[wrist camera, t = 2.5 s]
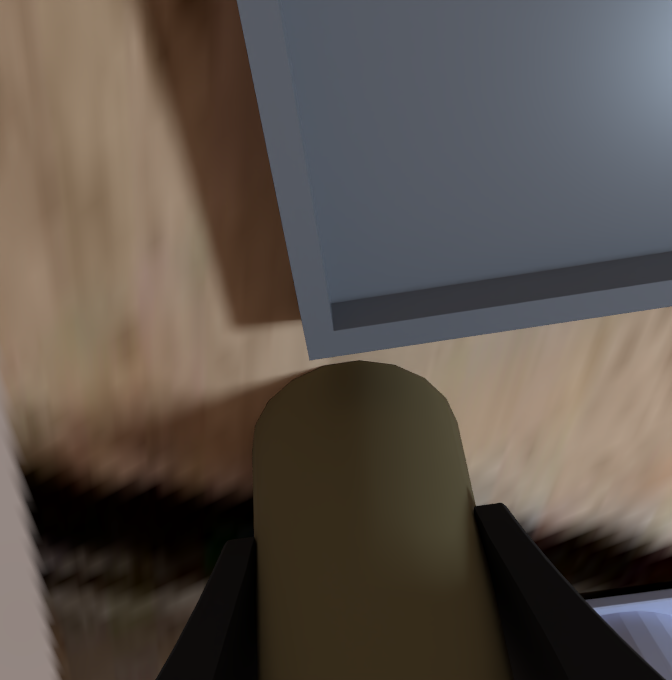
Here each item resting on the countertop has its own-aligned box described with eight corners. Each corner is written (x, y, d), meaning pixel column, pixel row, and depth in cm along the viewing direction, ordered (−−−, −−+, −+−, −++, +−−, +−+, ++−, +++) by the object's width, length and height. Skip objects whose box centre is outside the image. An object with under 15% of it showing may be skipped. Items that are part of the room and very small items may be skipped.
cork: (243, 362, 12) (-27, 1434, 2) (473, 359, 12) (1042, 1316, 3) (259, 524, 15) (161, 1315, 5) (445, 519, 15) (675, 1262, 6)
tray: (768, 249, 11) (852, 279, 10) (310, 319, 12) (309, 360, 10) (1024, -592, 6) (1320, -875, 4) (168, -418, 6) (112, -616, 5)
